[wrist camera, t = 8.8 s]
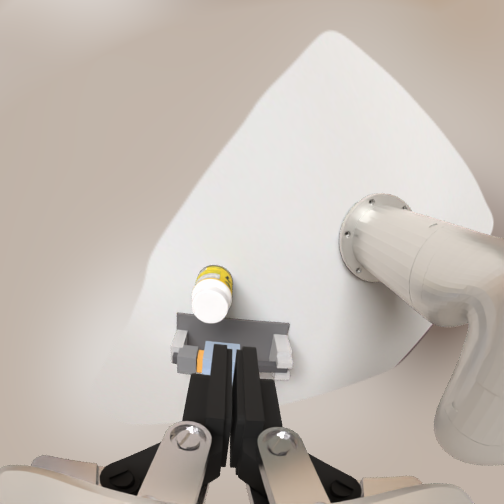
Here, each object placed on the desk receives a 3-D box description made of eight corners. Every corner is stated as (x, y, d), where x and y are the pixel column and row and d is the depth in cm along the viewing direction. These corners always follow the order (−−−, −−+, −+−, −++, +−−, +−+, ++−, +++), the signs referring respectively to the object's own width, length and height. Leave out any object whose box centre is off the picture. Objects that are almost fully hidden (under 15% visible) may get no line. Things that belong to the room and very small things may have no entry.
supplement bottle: (233, 295, 39) (233, 326, 31) (199, 297, 39) (191, 328, 31) (231, 262, 38) (230, 286, 30) (195, 264, 38) (185, 288, 30)
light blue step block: (239, 344, 37) (240, 377, 31) (237, 366, 38) (237, 401, 32) (205, 340, 37) (200, 374, 30) (204, 363, 38) (199, 398, 31)
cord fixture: (288, 322, 41) (297, 349, 34) (279, 366, 43) (285, 395, 36) (177, 312, 39) (167, 337, 33) (177, 357, 42) (169, 385, 35)
